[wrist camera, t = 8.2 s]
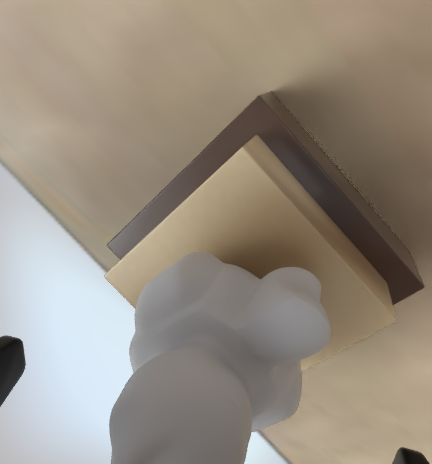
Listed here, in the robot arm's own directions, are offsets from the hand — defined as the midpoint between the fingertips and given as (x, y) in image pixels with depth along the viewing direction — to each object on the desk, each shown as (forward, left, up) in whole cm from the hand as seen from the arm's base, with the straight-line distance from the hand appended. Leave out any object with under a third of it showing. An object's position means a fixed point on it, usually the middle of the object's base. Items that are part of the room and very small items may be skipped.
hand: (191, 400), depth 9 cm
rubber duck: (0, 0, -5) cm, 5 cm away
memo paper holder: (0, 0, -10) cm, 10 cm away
